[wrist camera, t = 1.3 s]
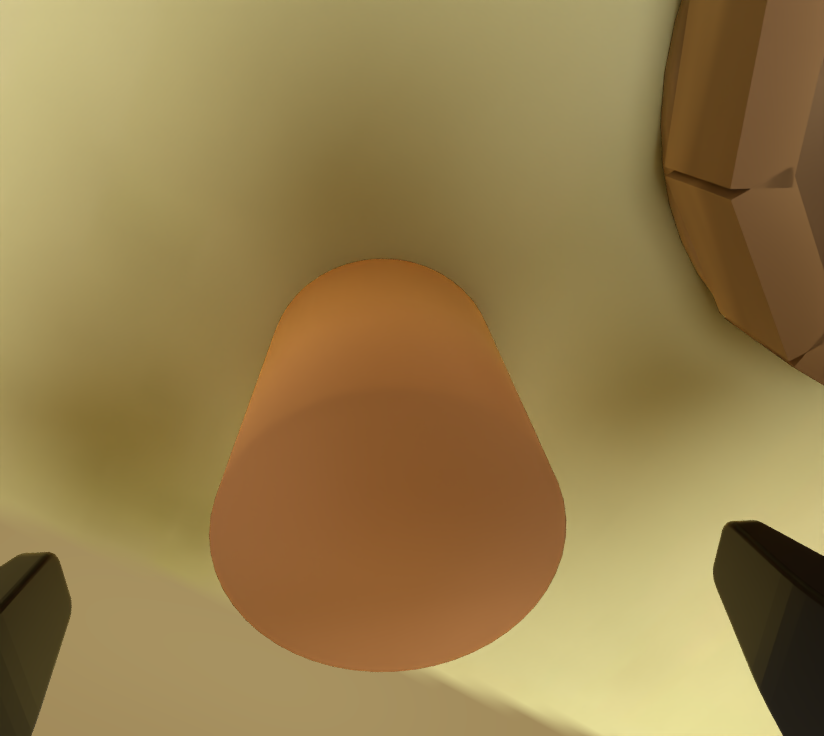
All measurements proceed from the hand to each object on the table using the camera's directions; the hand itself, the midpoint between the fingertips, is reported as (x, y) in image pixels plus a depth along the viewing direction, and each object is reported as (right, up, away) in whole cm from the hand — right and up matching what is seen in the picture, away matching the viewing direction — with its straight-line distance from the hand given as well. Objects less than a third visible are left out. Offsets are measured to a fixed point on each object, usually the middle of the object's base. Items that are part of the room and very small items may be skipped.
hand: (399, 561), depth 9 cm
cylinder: (0, +3, +6) cm, 6 cm away
